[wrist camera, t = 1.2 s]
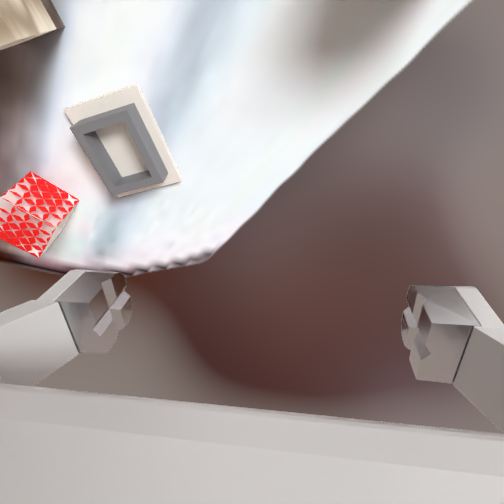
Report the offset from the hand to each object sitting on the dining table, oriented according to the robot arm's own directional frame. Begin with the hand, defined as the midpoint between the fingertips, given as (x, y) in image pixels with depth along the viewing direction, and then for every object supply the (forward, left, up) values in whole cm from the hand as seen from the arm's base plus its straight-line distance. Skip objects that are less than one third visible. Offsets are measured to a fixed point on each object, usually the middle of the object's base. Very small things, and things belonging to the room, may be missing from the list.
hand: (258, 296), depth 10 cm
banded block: (-11, -26, -40) cm, 49 cm away
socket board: (+6, -23, -40) cm, 47 cm away
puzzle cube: (+11, -41, -41) cm, 59 cm away
